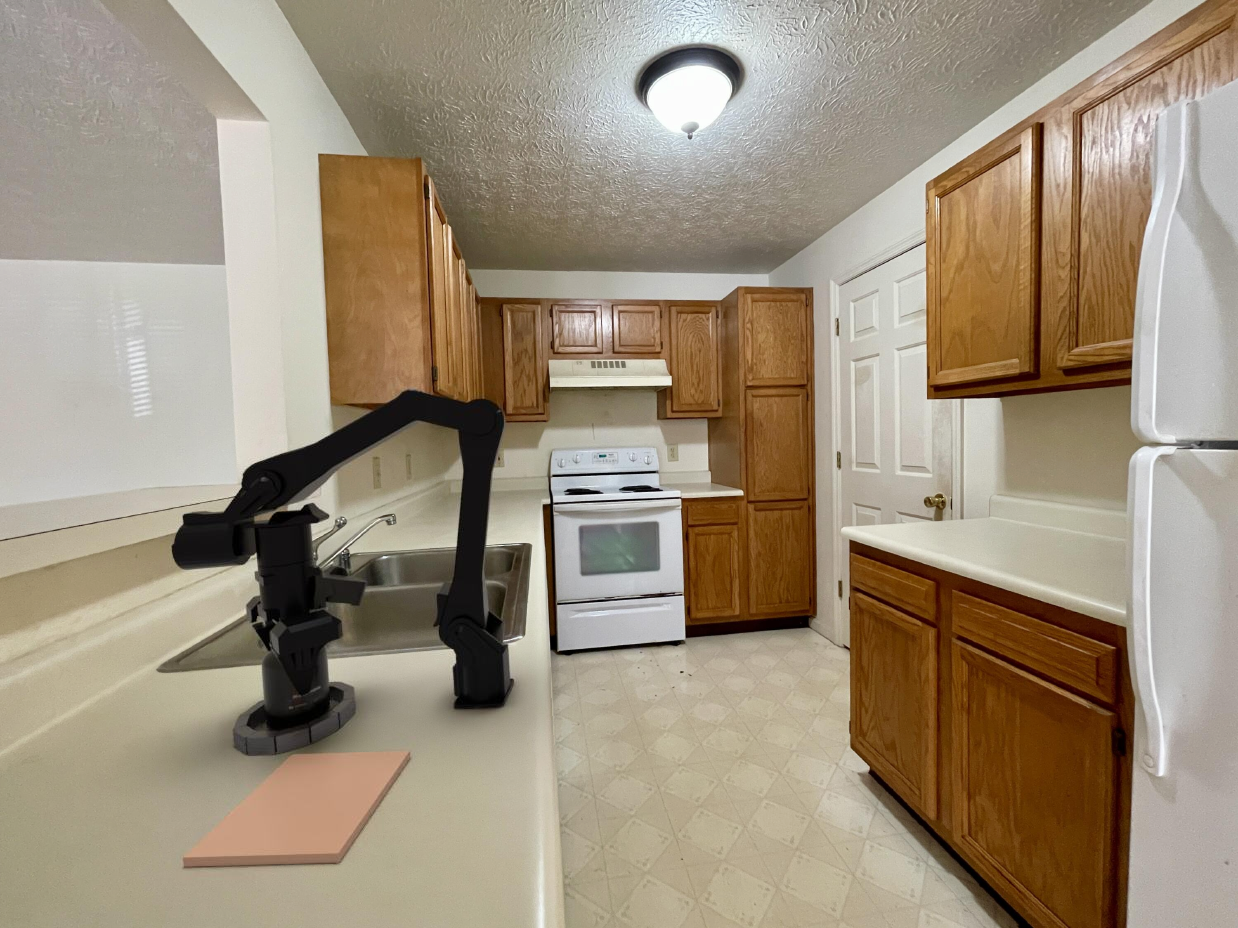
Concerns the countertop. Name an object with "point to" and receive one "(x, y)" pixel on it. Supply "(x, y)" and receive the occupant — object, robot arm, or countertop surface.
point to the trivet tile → (302, 811)
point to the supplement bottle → (293, 694)
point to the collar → (294, 736)
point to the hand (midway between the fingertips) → (296, 684)
